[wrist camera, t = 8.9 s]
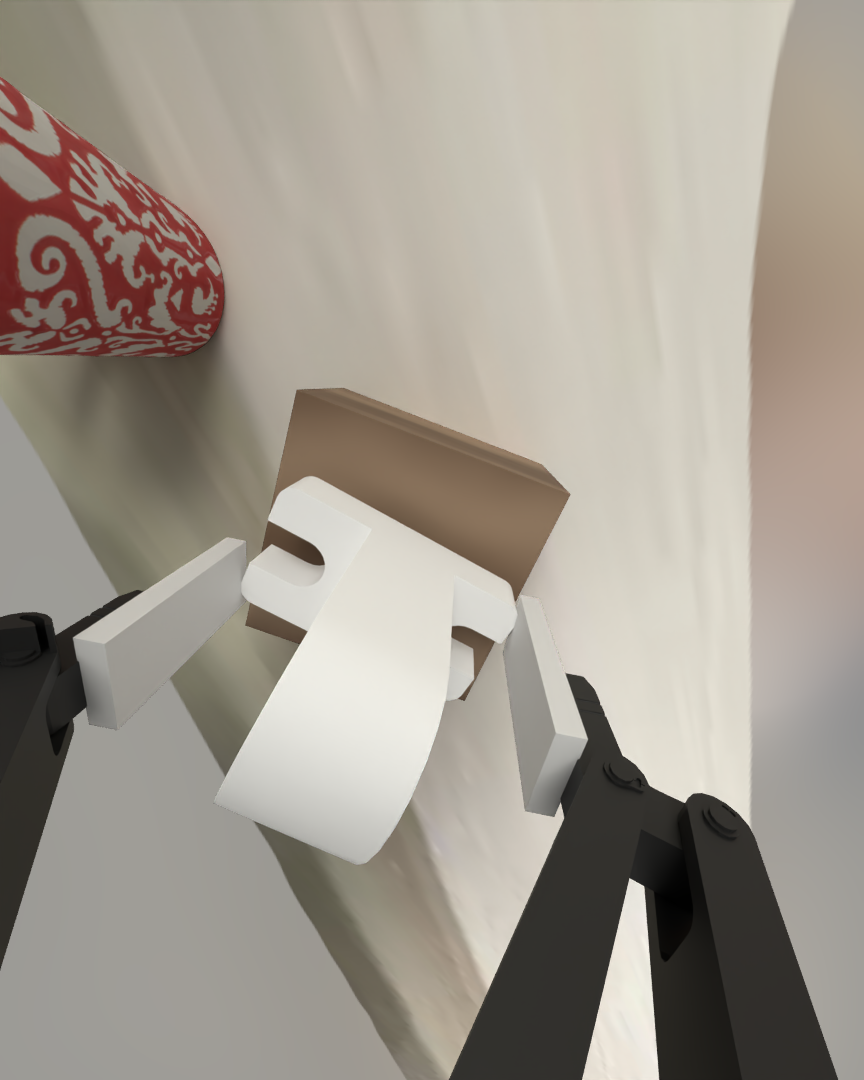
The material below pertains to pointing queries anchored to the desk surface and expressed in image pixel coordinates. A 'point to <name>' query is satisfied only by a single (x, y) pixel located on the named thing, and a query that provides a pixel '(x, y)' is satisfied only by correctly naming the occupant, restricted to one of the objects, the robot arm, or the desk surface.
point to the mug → (93, 250)
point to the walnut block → (417, 491)
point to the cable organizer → (356, 670)
